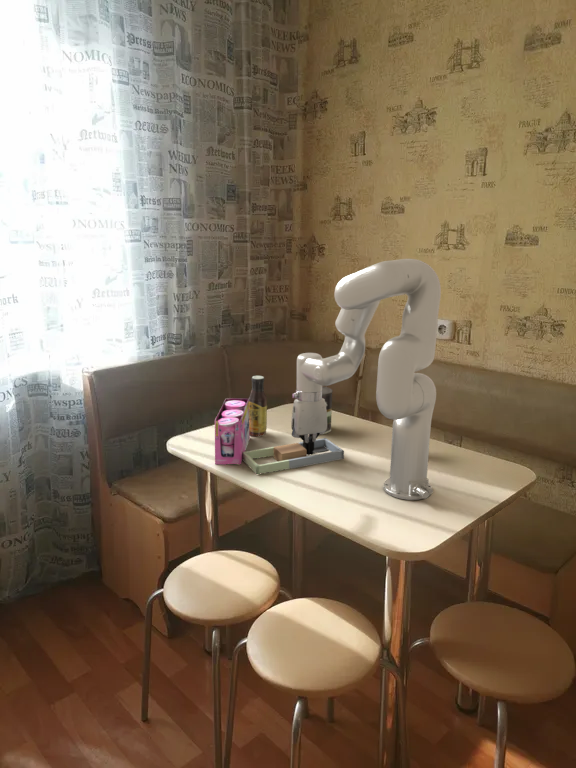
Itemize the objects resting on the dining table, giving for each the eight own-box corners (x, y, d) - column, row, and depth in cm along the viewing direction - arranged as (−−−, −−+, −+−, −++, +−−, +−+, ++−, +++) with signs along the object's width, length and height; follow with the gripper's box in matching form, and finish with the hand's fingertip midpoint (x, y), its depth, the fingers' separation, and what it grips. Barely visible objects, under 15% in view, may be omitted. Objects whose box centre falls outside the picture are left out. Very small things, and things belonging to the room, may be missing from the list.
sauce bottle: (244, 433, 194) (242, 376, 189) (258, 429, 198) (257, 373, 193) (256, 439, 190) (255, 380, 184) (271, 434, 194) (270, 377, 188)
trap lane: (343, 458, 174) (344, 450, 174) (256, 474, 163) (256, 466, 163) (325, 445, 184) (325, 438, 184) (242, 459, 173) (242, 452, 173)
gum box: (240, 467, 168) (239, 423, 165) (213, 466, 169) (212, 422, 165) (250, 437, 191) (249, 398, 188) (226, 437, 192) (225, 397, 188)
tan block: (306, 462, 173) (306, 449, 171) (281, 466, 169) (281, 453, 168) (297, 454, 178) (297, 442, 177) (273, 459, 175) (273, 446, 174)
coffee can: (332, 435, 193) (333, 394, 190) (301, 434, 194) (301, 394, 190) (331, 424, 203) (331, 385, 199) (301, 424, 204) (301, 385, 200)
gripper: (291, 401, 164) (290, 461, 170) (337, 395, 170) (336, 453, 175) (280, 394, 171) (280, 452, 176) (326, 389, 177) (324, 445, 182)
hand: (308, 453), depth 176 cm, fingers closed
